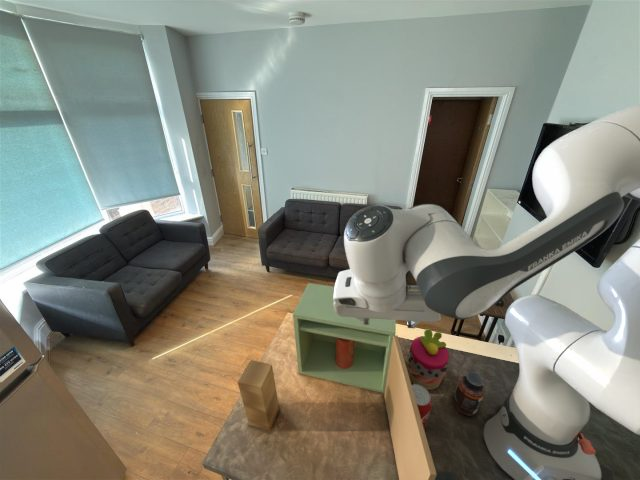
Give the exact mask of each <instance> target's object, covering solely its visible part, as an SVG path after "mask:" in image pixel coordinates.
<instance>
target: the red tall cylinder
mask: <svg viewBox="0 0 640 480" xmlns="http://www.w3.org/2000/svg"><path fill="white" fill-rule="evenodd" d="M354 345H355V341H353V340H348V339H343V338H338V337H335V362H336V364H337V366H338V367H340V368H342V369H348V368H350V367H351V366H352V365H353V363H354Z"/></svg>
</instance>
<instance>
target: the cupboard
mask: <svg viewBox="0 0 640 480" xmlns="http://www.w3.org/2000/svg"><path fill="white" fill-rule="evenodd" d="M334 287H335V286H333V285H332V286H331V285H326V284H319V283H312V282H308V283H307V285H306V287H305V289H304V290H303V292H302V295H301V297H300V299H299V301H298V303H297V305H296V307H295V309H294V311H293V313H292V320H293V330H294V340H295V350H296V361H297V371H298V372H297V373H298V374H300V375H304V376H307V377H312V378H316V379H321V380H325V381H329V382H334V383H337V384H343V385H348V386H350V387H356V388H359V389H360V388H361V389H364V390H367V391H373V392H376V393H381V394H385V388H386V381H387V375H388V368H389V362H390V355H391V348H392V342H393V336H396V330H397V329H396V328H397V327H396V326H397V320H386V319H371V318H370V321H369V323H370V324H369V325H363V324H362V322H361V321H360V320H358V319H356V318H355V317H342V316H339V315H337V314H336V312H335V310H334V305H333V303H334V300H333V294H334ZM335 337H338V338H343V339H348V340H353V341H355V345H354V363H353V365H352V366H351V367H350V368H348V369H342V368H340V367H338V366H337V364H336V362H335Z"/></svg>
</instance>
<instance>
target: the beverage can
mask: <svg viewBox="0 0 640 480" xmlns="http://www.w3.org/2000/svg"><path fill="white" fill-rule="evenodd" d="M411 385H412V388H413V392H414V396H415V399H416V403H417V406H418V410H419V413H420V417H421V420H422V424H423V427H424V430H425V429H426V426H427V423H428V420H429V416H430V413H431V410H432V408H433V407H432V406H433V399H432V396H431V394H430V392H429V391H428V389H426V388H424V387H423V386H421V385H417V384H411Z"/></svg>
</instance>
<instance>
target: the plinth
mask: <svg viewBox="0 0 640 480" xmlns="http://www.w3.org/2000/svg"><path fill="white" fill-rule="evenodd" d="M237 386H238V390H239V393H240V397H241V400H242V404H243V407H244V411H245V416H246V420H247V423H248V426H252V427H255V428H258V429H262V430H266V431H269V432H271V431H272V428H273V425H274V422H275V419H276V417H277V415H278V412H279V409H280V404H279V397H278V392H277V386H276V380H275V375H274V369H273V364H272V363H267V362H264V361H257V360H255V359H249V360H248V362H247V364H246V366H245V367H244V369H243V370H242V373H240V376H239V378H238V379H237Z"/></svg>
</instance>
